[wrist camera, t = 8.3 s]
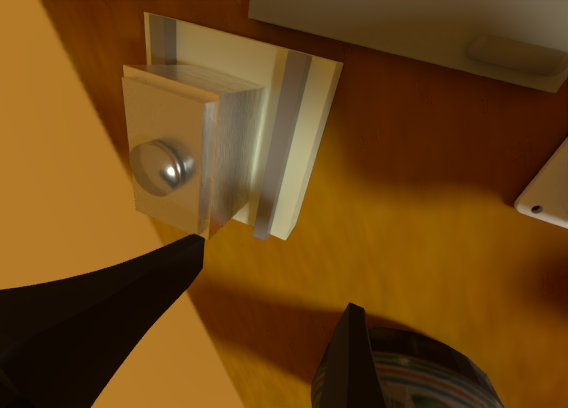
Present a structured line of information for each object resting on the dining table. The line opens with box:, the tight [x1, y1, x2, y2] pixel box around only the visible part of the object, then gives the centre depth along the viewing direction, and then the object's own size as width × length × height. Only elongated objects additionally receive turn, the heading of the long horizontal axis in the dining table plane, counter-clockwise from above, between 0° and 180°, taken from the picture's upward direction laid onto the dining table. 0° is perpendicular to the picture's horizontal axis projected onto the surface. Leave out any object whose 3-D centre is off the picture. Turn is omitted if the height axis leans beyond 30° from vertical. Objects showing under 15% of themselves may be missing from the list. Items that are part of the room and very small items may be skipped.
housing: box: [121, 65, 267, 240], centre depth 15 cm, size 8×5×6 cm, turn 167°
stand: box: [144, 12, 344, 241], centre depth 18 cm, size 12×12×4 cm
